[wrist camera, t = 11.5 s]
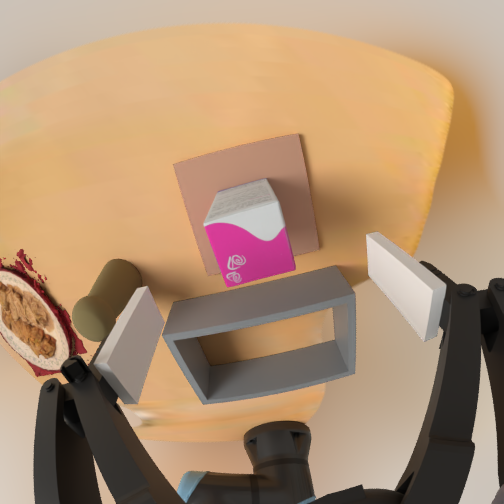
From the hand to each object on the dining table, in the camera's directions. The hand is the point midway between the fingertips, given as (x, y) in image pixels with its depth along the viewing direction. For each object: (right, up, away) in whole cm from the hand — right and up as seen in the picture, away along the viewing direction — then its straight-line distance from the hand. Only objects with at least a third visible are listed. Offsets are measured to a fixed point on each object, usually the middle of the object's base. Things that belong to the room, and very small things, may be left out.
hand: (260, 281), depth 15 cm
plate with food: (-43, -11, +22) cm, 49 cm away
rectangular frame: (+1, -9, +22) cm, 24 cm away
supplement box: (-1, +7, +15) cm, 17 cm away
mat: (-1, +7, +15) cm, 17 cm away
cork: (-18, -2, +19) cm, 26 cm away
